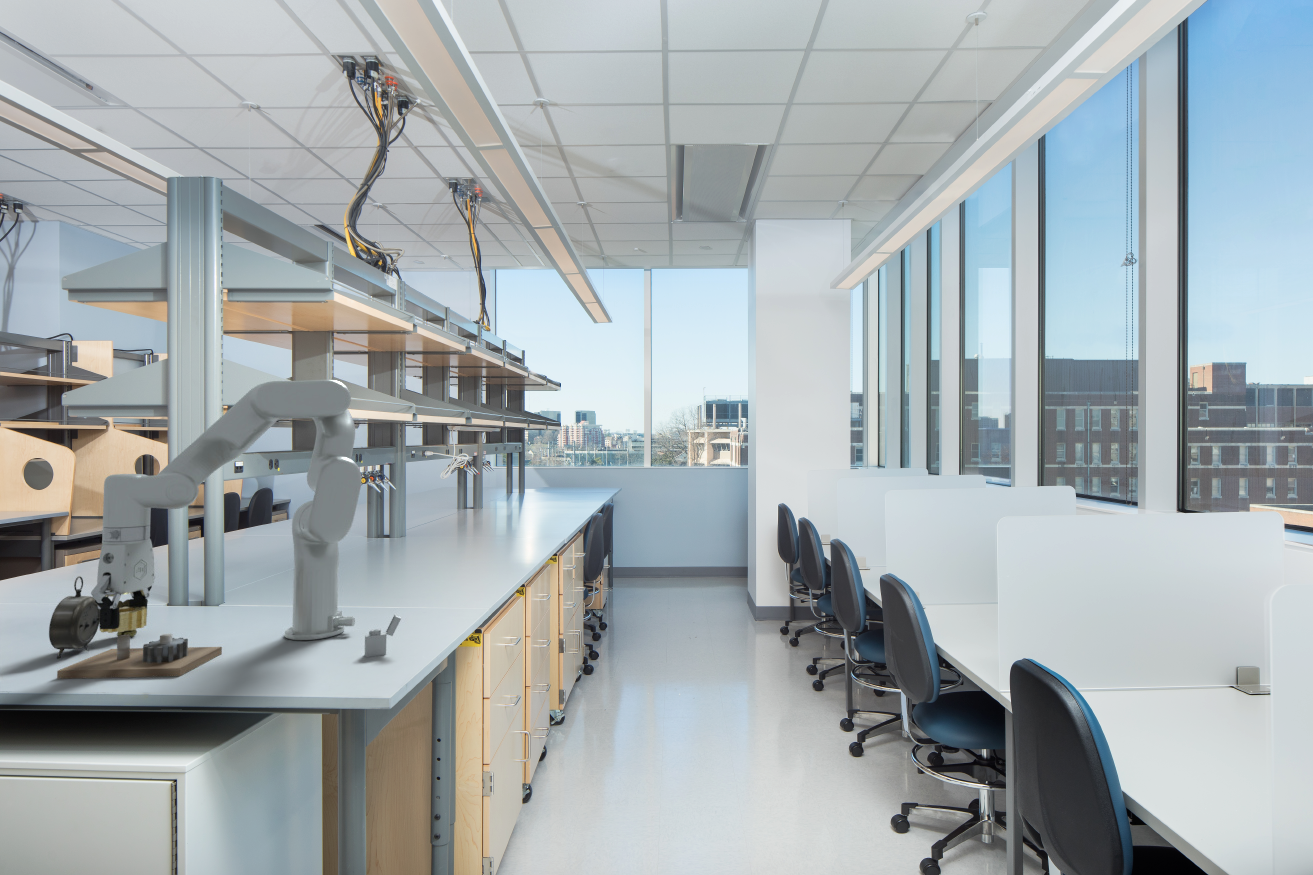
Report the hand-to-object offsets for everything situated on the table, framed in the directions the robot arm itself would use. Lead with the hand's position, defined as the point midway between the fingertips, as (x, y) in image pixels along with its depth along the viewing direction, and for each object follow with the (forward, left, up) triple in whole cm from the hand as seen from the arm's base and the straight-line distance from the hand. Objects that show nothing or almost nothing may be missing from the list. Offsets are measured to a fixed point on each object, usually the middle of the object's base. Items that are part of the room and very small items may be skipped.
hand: (123, 622), depth 132 cm
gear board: (-4, 0, -9) cm, 10 cm away
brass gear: (0, 0, -1) cm, 1 cm away
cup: (+14, -22, -9) cm, 28 cm away
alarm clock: (+16, -10, -9) cm, 21 cm away
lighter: (-49, -5, -9) cm, 50 cm away
